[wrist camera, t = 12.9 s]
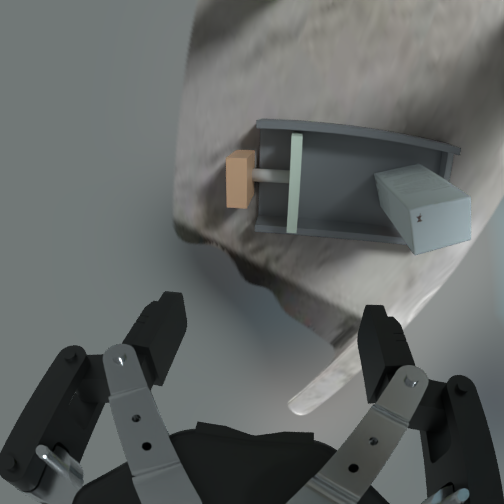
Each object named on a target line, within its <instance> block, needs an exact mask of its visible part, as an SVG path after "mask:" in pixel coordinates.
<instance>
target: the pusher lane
mask: <svg viewBox="0 0 504 504" xmlns="http://www.w3.org/2000/svg"><path fill="white" fill-rule="evenodd" d="M256 128H260V167H259V169H275V170H290V161H291V137H292V132H293V131H295V132H302V135H303V140H302V160H301V177H300V193H299V207H298V220H297V233H286V232H287V217H288V200H289V183H274V182H259V215H258V218H257V221H256V223H255V232H267V233H280V234H293V235H305V236H317V237H329V238H341V239H352V240H363V241H373V242H384V243H394V244H404V245H407V243H406V242H405V241H404V239H403V238H402V236H401V235H400V233H399V232H398V230H397V229H396V227H395V226H394V225H393V223H392V222H391V220H390V219H389V218H388V216H387V215H386V213H385V212H384V211H383V209H382V208H381V206H380V201H379V196H378V191H377V186H376V181H375V176H374V173H378V172H383V171H387V170H392V169H396V168H401V167H405V166H410V165H415V164H421V165H422V166H424V167H426V168H427V169H429V170H431V171H432V172H434V173H436V174H437V175H439V176H440V177H442V178H443V179H445V180H447V181H448V182H449V180H450V175H451V169H452V162H453V156H454V154H456V155H460V151H461V148H459V147H456V146H453V145H451V144H448V143H444V142H440V141H436V140H431V139H427V138H422V137H417V136H413V135H408V134H402V133H397V132H391V131H385V130H379V129H373V128H366V127H359V126H351V125H343V124H334V123H324V122H312V121H299V120H282V119H259V120H257V121H256Z"/></svg>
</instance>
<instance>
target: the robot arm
mask: <svg viewBox="0 0 504 504" xmlns="http://www.w3.org/2000/svg"><path fill="white" fill-rule="evenodd" d="M186 328H187V318H186V312H185V306H184V300H183V295H182V293H178V292H168V291H165V292H164V293H163V294H162V296H161V298H160V299H159V301H153V302H151V303H150V304H149V305H147V306H146V307H145V308H144V310H143V311H142V313H141V314H140V316H139V318H138V319H137V320H136V323H134V325H133V327H132V328H131V330H130V332H129V333H128V334H127V336H126V338H125V339H124V341H123V343H122V344H116V345H114V346H111V347H110V348H108V349H107V350H106V351H105V353H104V354H102V355H87V354H86V352H85V350H84V349H83V348H82V347H80V346H76V345H73V346H68V347H66V348H64V349H63V350H61V352H60V353H59V354H58V355H57V357H56V358H55V360H54V362H53V363H52V364H51V366H50V367H49V369H48V371H47V372H46V374H45V375H44V377H43V378H42V380H41V382H40V383H39V385H38V386H37V388H36V390H35V391H34V393H33V395H32V397H31V398H30V400H29V401H28V403H27V405H26V406H25V408H24V410H23V412H22V413H21V415H20V417H19V419H18V420H17V422H16V424H15V426H14V428H13V430H12V431H11V433H10V435H9V437H8V439H7V441H6V443H5V445H4V447H3V449H2V451H1V453H0V475H1V477H2V478H3V479H5V480H6V481H8V482H9V483H10V484H12V485H13V486H15V487H16V488H17V489H18V490H19V491H21V492H22V493H24V494H26V495H27V496H29V497H30V498H32V499H34V500H35V501H37V502H40V503H42V504H389V503H388V502H387V501H386V500H385V499H384V498H383V497H382V496H381V495H380V494H379V493H378V492H377V491H376V490H375V489H374V488H373V487H372V486H371V484H372V482H373V481H374V480H375V478H376V477H377V475H378V474H379V473H380V471H381V470H382V468H383V467H384V465H385V464H386V462H387V461H388V459H389V458H390V456H391V454H392V453H393V451H394V450H395V448H396V447H397V445H398V443H399V441H400V440H401V438H402V436H403V435H404V433H405V431H406V430H407V428H411V429H417V430H420V435H421V442H422V449H423V457H424V465H425V474H426V486H427V499H425V500H424V501H423V502H422V503H421V504H504V497H503V491H502V484H501V479H500V474H499V469H498V464H497V459H496V455H495V451H494V447H493V442H492V438H491V435H490V431H489V428H488V425H487V421H486V417H485V414H484V411H483V408H482V405H481V402H480V399H479V396H478V393H477V390H476V387H475V385H474V383H473V382H472V381H471V380H470V379H469V378H467V377H465V376H462V375H455V376H452V377H451V378H450V379H449V381H448V382H447V383H444V382H438V381H433V380H430V379H428V377H427V375H426V373H425V372H424V371H423V370H422V369H420V368H419V367H416V366H415V363H414V360H413V357H412V355H411V352H410V349H409V346H408V343H407V342H406V338H405V335H404V332H403V330H402V327H401V324H400V323H399V322H398V321H397V320H396V319H395V318H394V317H388V316H387V314H386V311H385V308H384V306H383V305H366V306H365V309H364V313H363V316H362V320H361V324H360V328H359V331H358V339H357V342H358V349H359V354H360V359H361V365H362V370H363V376H364V382H365V388H366V394H367V401H368V403H375V405H373V406H372V407H371V408H370V409H369V411H368V412H367V414H366V415H365V416H364V418H363V419H362V420H361V422H360V423H359V424H358V426H357V427H356V428H355V430H354V431H353V432H352V433H351V435H350V436H349V437H348V438H347V440H346V441H345V442H344V443H343V444H342V446H341V447H340V448H339V449H338V450H336V449H334V448H333V447H331V446H329V445H327V444H325V443H322V442H319V441H316V440H314V433H311V432H310V433H309V432H306V433H305V432H279V433H272V434H265V435H257V436H254V435H250V434H247V433H244V432H241V431H238V430H235V429H232V428H229V427H227V426H222V425H216V424H209V423H203V422H197V426H196V429H189V430H184V431H180V432H176V433H174V434H172V435H169V433H168V431H167V429H166V426H165V424H164V422H163V420H162V418H161V415H160V413H159V410H158V408H157V406H156V403H155V401H154V398H153V396H152V393H151V388H152V386H153V384H154V385H158V386H162V385H163V383H164V381H165V378H166V376H167V373H168V371H169V369H170V367H171V364H172V362H173V360H174V357H175V355H176V353H177V351H178V348H179V346H180V344H181V341H182V339H183V337H184V334H185V332H186ZM70 401H71V402H70ZM69 403H70V404H69ZM105 403H110V407H111V411H112V414H113V418H114V421H115V425H116V428H117V432H118V435H119V438H120V441H121V444H122V447H123V450H124V453H125V456H126V459H127V462H125V463H123V464H122V465H120V466H119V467H117V468H115V469H113V470H111V471H109V472H108V473H106V474H104V475H102V476H101V477H99V478H97V479H95V480H93V481H91V482H89V483H87V484H86V485H84V486H83V482H84V480H83V469H82V467H81V465H80V461H81V459H82V456H83V453H84V451H85V449H86V446H87V444H88V442H89V439H90V437H91V434H92V432H93V430H94V427H95V425H96V423H97V420H98V418H99V416H100V414H101V411H102V409H103V407H104V405H105Z"/></svg>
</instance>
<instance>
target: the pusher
mask: <svg viewBox="0 0 504 504" xmlns="http://www.w3.org/2000/svg"><path fill="white" fill-rule="evenodd" d="M302 140H303V135H302V132H295V131H293V132H292V137H291V161H290V170H275V169H256V168H255V150H236V151H234V152H233V153H232V154H230V155H229V156H228V157H226V195H227V207H228V208H245V209H247V207H248V205H249V203H250V201H251V199H252V197H253V195H254V181H256V182H274V183H289V200H288V217H287V232H286V233H297V220H298V207H299V193H300V177H301V160H302Z"/></svg>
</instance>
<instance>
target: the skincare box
mask: <svg viewBox="0 0 504 504" xmlns="http://www.w3.org/2000/svg"><path fill="white" fill-rule="evenodd" d="M374 176H375V181H376V186H377V191H378V196H379V201H380V206H381V208H382V209H383V211H384V212H385V213H386V215H387V216H388V218H389V219H390V220H391V222H392V223H393V225H394V226H395V227H396V229H397V230H398V232H399V233H400V235H401V236H402V238H403V239H404V241H405V242H406V243H407V245H408V246H409V248H410V250H411V251H412V253H413V254H414V255H418V254H422V253H425V252H429V251H433V250H436V249H440V248H443V247H447V246H450V245H454V244H457V243H461V242H464V241H468V240H471V197H470V196H469V195H468V194H466V193H465V192H463V191H462V190H460V189H459V188H457V187H456V186H454V185H453V184H451V183H450V182H448V181H447V180H445V179H443V178H442V177H440V176H439V175H437V174H436V173H434V172H432V171H431V170H429V169H427V168H426V167H424V166H422V165H421V164H415V165H410V166H405V167H401V168H396V169H392V170H387V171H383V172H378V173H374Z"/></svg>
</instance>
